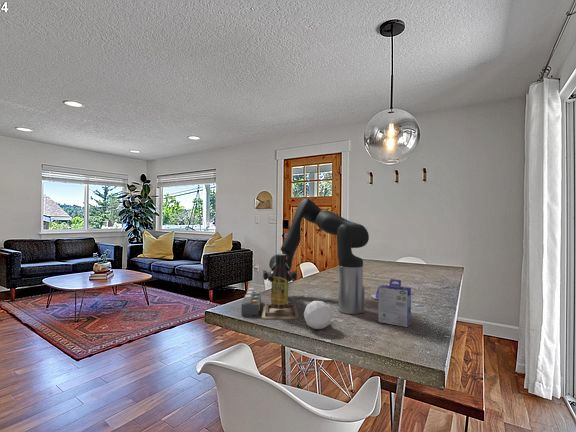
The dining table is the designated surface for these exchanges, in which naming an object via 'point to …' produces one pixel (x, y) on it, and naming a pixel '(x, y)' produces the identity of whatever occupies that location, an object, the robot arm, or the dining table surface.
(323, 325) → the faceted ball with stub
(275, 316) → the square beige tray
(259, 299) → the breaker bank
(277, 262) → the sauce bottle
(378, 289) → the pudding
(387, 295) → the ink cartridge box
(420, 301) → the dining table surface
